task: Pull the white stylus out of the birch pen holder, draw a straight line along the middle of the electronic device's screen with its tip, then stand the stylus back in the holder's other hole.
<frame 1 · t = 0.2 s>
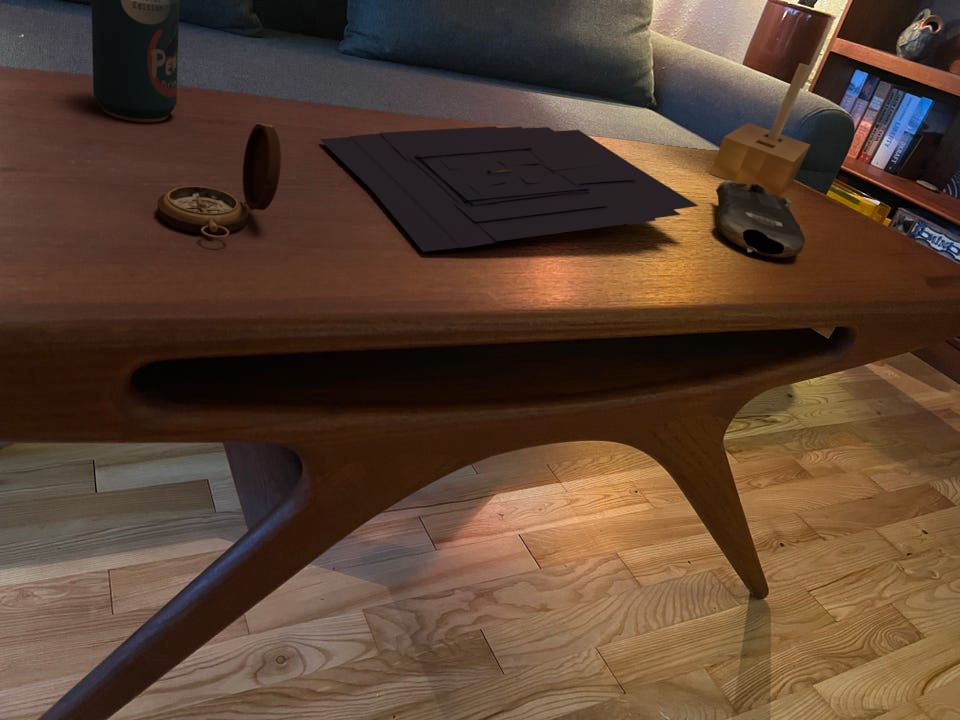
compass: (216, 226, 57), on the table
pen holder: (753, 176, 107), on the table
stylus: (757, 172, 109), resting in pen holder
soda can: (135, 113, 72), on the table
papers: (505, 199, 76), on the table
electronic device: (750, 235, 85), on the table
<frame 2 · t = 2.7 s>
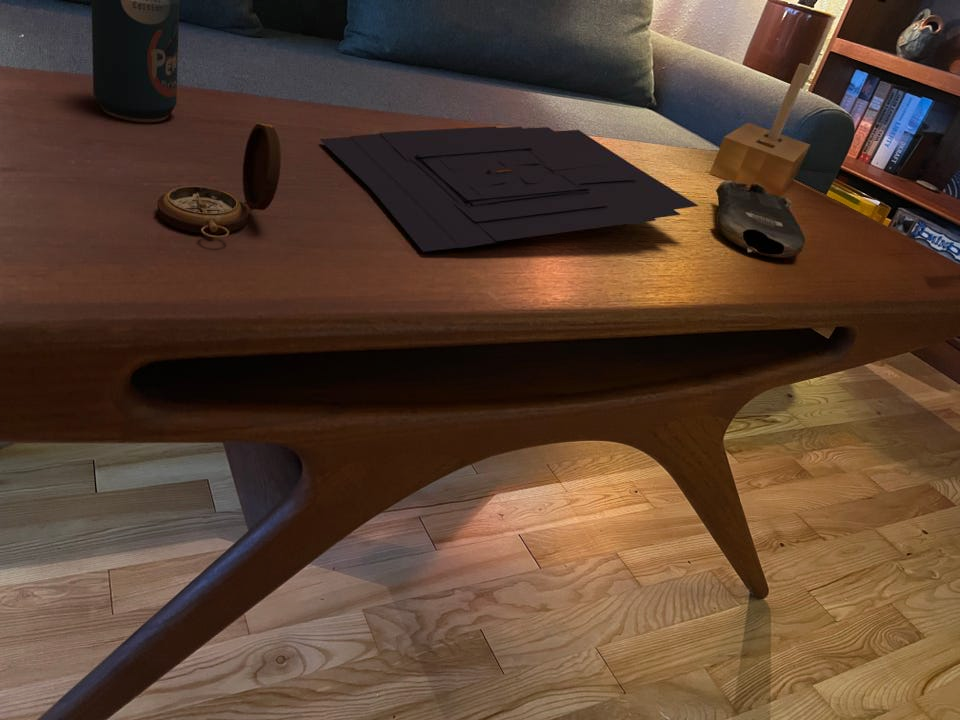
nothing on the table moved.
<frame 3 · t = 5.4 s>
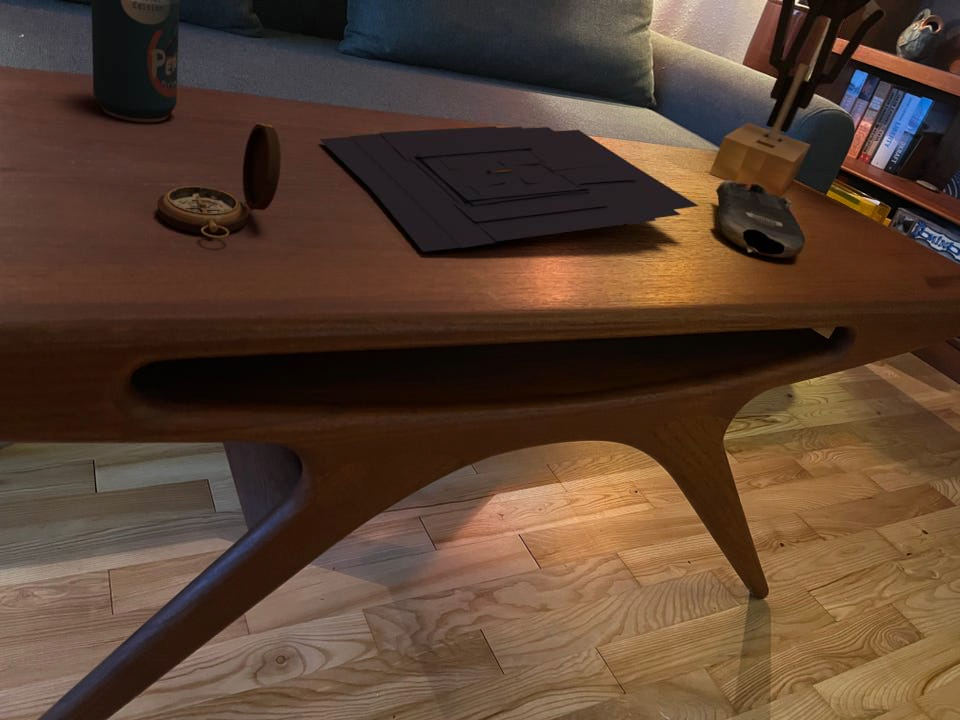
hand: (777, 127, 106), 6 cm above the table, tool pointing down, fingers closed on stylus
stylus: (757, 172, 109), resting in pen holder, touching gripper
everything else where it was.
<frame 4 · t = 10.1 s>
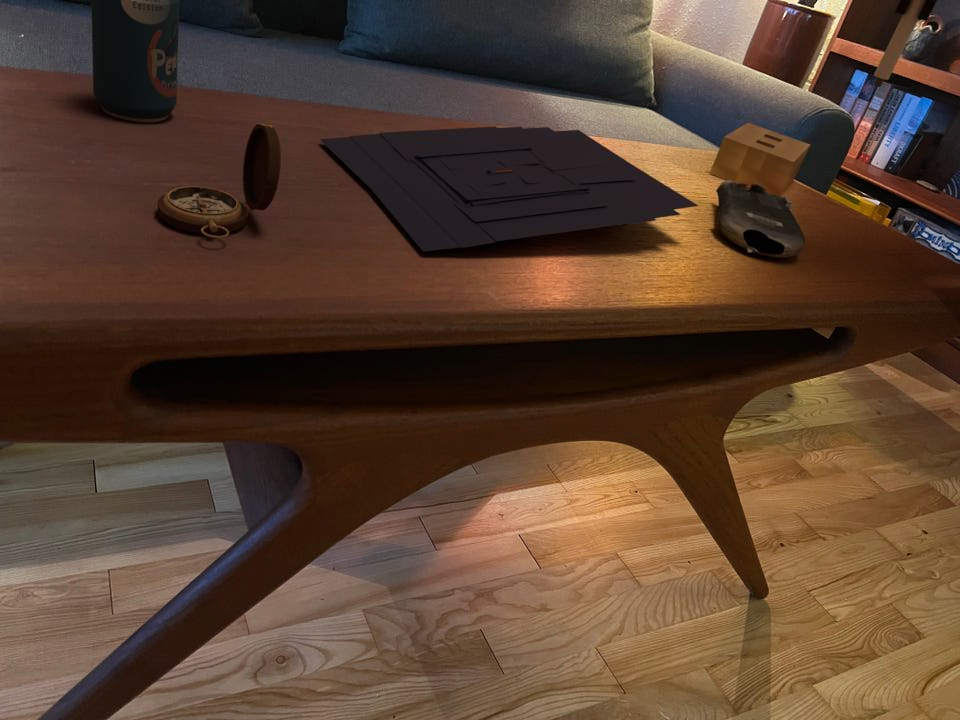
hand: (911, 15, 72), 24 cm above the table, tool pointing down, fingers closed on stylus
stylus: (876, 86, 75), point 17 cm above the table, touching gripper
everything else where it was.
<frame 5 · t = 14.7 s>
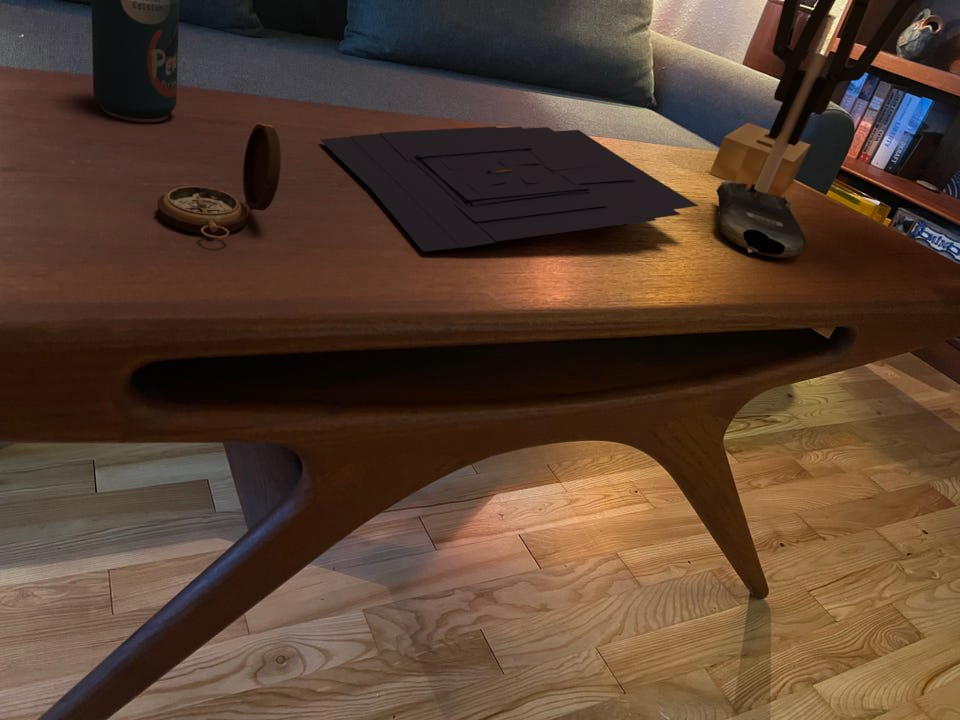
hand: (783, 138, 80), 10 cm above the table, tool pointing down, fingers closed on stylus
stylus: (757, 197, 83), point 4 cm above the table, touching gripper
everything else where it was.
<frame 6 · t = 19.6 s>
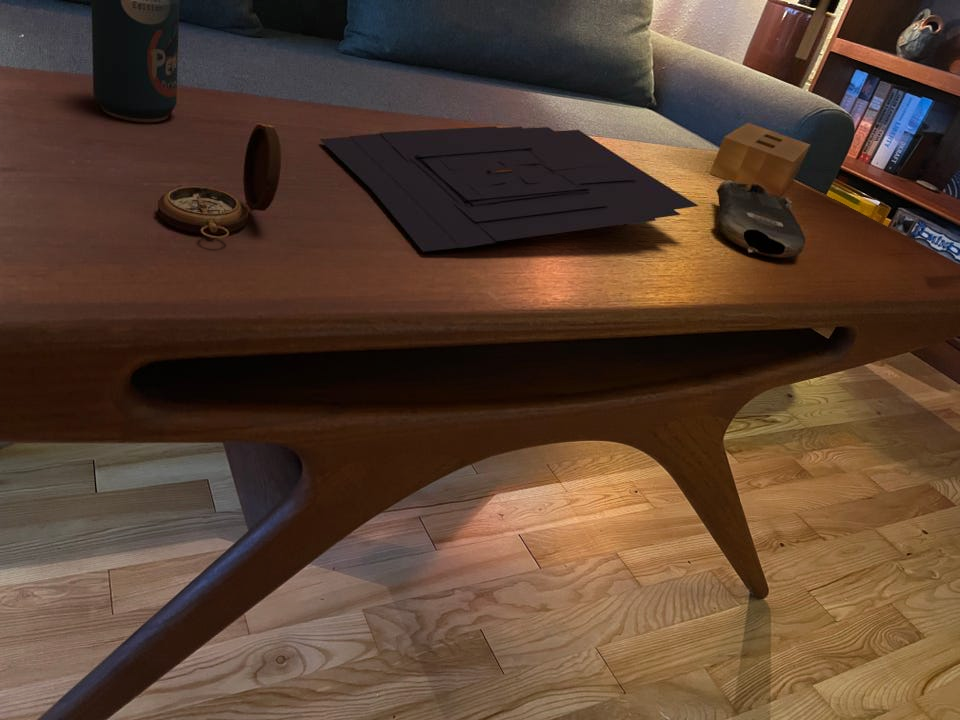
hand: (821, 9, 93), 22 cm above the table, tool pointing down, fingers closed on stylus
stylus: (797, 64, 96), point 15 cm above the table, touching gripper
everything else where it was.
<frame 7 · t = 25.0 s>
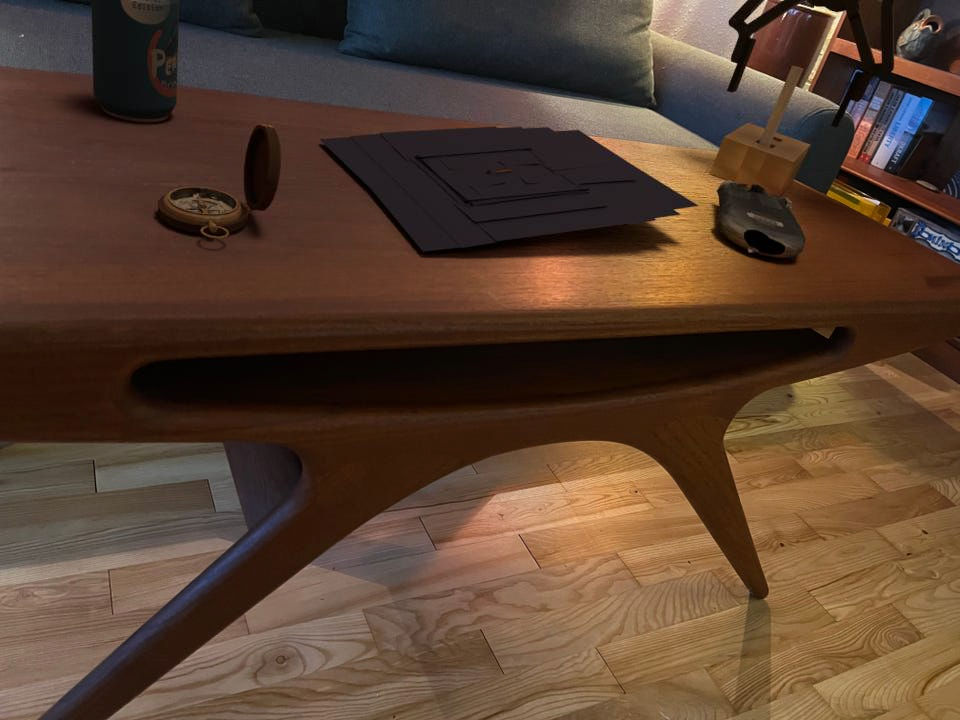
hand: (782, 108, 100), 10 cm above the table, tool pointing down, fingers open, 13 cm apart
stylus: (749, 179, 105), resting in pen holder
everything else where it was.
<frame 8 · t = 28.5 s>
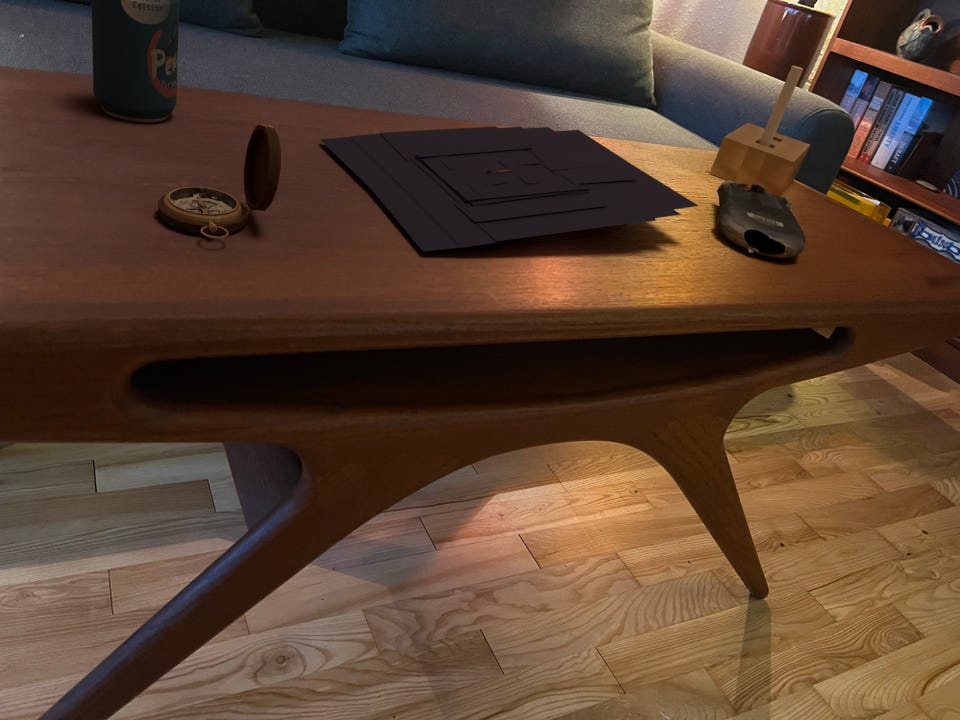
nothing on the table moved.
at the end: stylus 0.1 cm from the target spot in the pen holder, point 0.0 cm above the pen holder's base; stylus tilted 0°; electronic device moved 0.2 cm from its start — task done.
